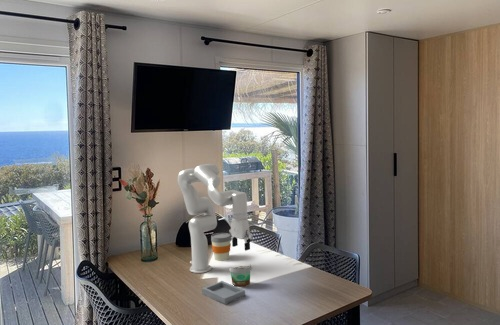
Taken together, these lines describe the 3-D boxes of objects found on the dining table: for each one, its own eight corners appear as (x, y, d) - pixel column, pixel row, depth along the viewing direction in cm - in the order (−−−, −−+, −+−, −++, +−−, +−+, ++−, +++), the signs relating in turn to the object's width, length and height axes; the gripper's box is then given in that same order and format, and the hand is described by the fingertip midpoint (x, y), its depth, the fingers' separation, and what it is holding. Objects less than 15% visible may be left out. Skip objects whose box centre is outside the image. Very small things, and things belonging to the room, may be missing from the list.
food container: (232, 289, 210) (231, 270, 209) (229, 284, 216) (229, 266, 215) (255, 286, 214) (254, 267, 213) (252, 281, 220) (251, 263, 219)
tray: (202, 293, 206) (201, 288, 206) (222, 286, 215) (222, 280, 214) (224, 304, 193) (224, 298, 192) (245, 296, 202) (244, 290, 201)
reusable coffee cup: (209, 257, 262) (208, 234, 261) (227, 254, 267) (226, 231, 266) (215, 263, 251) (214, 239, 249) (234, 259, 256) (233, 236, 255)
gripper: (223, 214, 215) (225, 246, 217) (245, 219, 203) (246, 253, 204) (234, 212, 220) (235, 243, 222) (256, 217, 208) (257, 249, 209)
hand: (241, 248), depth 213 cm, fingers open, 9 cm apart
